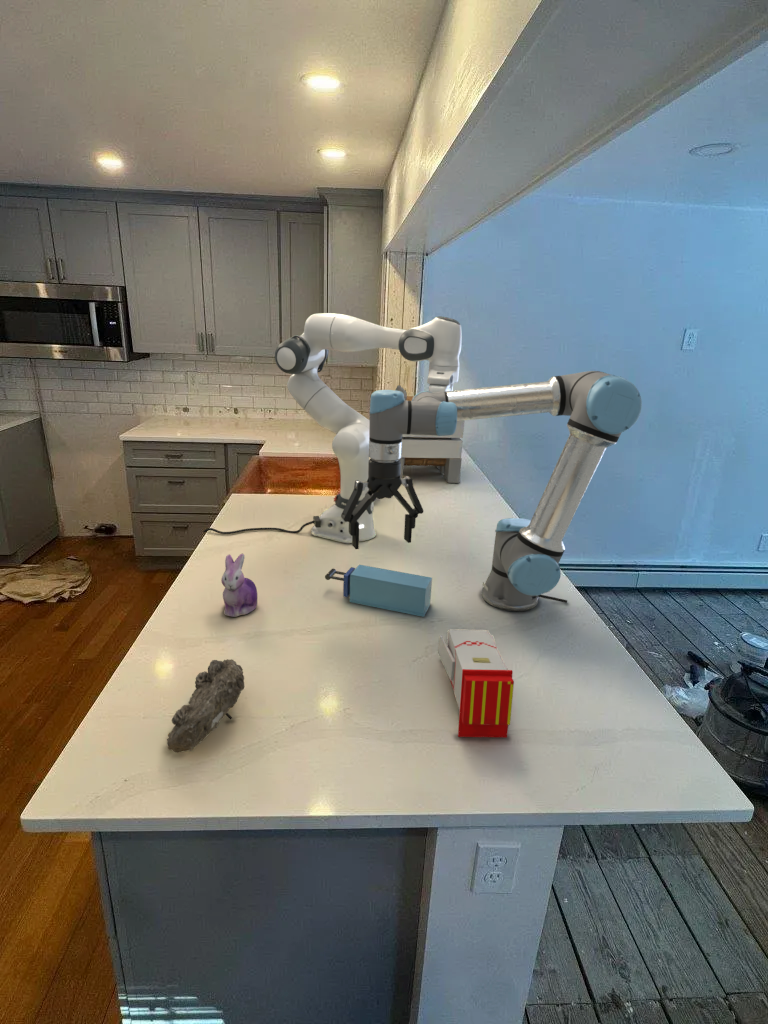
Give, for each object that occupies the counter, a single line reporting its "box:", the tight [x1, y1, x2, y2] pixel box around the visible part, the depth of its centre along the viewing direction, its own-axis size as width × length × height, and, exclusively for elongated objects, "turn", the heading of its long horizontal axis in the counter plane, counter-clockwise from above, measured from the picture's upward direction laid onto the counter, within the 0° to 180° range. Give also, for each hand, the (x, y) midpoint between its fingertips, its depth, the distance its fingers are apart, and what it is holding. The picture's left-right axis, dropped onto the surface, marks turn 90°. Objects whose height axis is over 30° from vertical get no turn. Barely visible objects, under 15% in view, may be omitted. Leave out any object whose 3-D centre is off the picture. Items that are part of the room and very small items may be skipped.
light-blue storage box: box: [349, 564, 433, 618], centre depth 151 cm, size 21×7×8 cm, turn 72°
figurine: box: [220, 553, 258, 618], centre depth 144 cm, size 9×10×15 cm
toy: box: [437, 628, 515, 738], centre depth 117 cm, size 12×13×30 cm
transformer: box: [395, 384, 466, 484], centre depth 268 cm, size 34×33×41 cm
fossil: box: [166, 658, 245, 754], centre depth 106 cm, size 22×10×15 cm
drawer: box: [324, 566, 356, 598], centre depth 153 cm, size 25×6×6 cm, turn 72°
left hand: (439, 422), depth 171 cm, fingers open, 8 cm apart
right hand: (381, 544), depth 138 cm, fingers open, 13 cm apart
